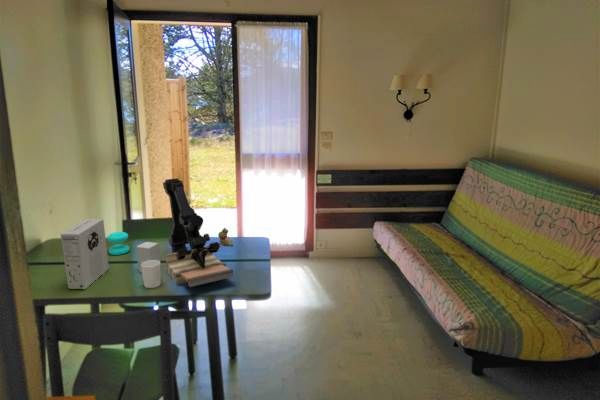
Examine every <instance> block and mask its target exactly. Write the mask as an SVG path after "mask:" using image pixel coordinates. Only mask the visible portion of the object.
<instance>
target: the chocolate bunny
mask: <svg viewBox="0 0 600 400" xmlns="http://www.w3.org/2000/svg"><path fill="white" fill-rule="evenodd" d="M228 233H229V230H228V229H227V228H226V227H224V228H223V229H222V230H221V231H219V233H218V234H217V235H218V238H219V245H220V246H224V247H232V246H234V243H233V241H232V239H231V238H230V237H229V236H228Z"/></svg>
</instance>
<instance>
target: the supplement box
mask: <svg viewBox="0 0 600 400" xmlns="http://www.w3.org/2000/svg"><path fill="white" fill-rule="evenodd" d="M135 249H136V257H137V267H138V272H139V273H142V269H141V263H143V262H145V261H148V260H158V261H160V262H161V256H160V245H159V242H151V241H144V242H143V243H141V244H138V245H137V246H136V248H135ZM161 268H162V266H161V263H160V269H161Z"/></svg>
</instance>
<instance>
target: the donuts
mask: <svg viewBox="0 0 600 400" xmlns="http://www.w3.org/2000/svg"><path fill="white" fill-rule="evenodd" d="M106 238H107V239H106V240H107V241H108V242H110V243H113V244H114V243H116V244H114V245H112V246H110V247H109V249H108V253H109V254H110V255H112V256H122V255H125V254H127V253H128V252H130V249H131V248H130V246H129V245H127V244H124V243H122V242H125V241H127V240H128V238H129V234H128V233H127V232H125V231H115V232H112V233H109V234H108V235H107V237H106ZM117 243H118V244H117ZM121 254H122V255H121Z"/></svg>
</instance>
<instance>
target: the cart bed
mask: <svg viewBox="0 0 600 400" xmlns="http://www.w3.org/2000/svg"><path fill="white" fill-rule="evenodd" d="M208 246H209V245H208ZM208 246H206V247H208ZM176 254H177V252H176V253H172V252H171V253H167V254H165V264H166V265H165V266H166V273H167V274H168V275H169V276H170V277H171V278H172V280H173V281H174V283H175V284H176V285H180V284H181V285H182V284H185V283H188V281H187V280H185V279H184V278H182V277H181V275H180V273H185V272H189V271H194V270H198V269H202V268H201V266H200V265H199V264H198V263H197V262H196V261H194V260H193V259H190V257H191V255H185V258H184V259H181V260H177V257H176ZM199 254H200V253H199ZM221 264H222V265H224V266H226V267H227V263H226V262H224V263H223V262H222V261H221V260H220V259H219V258H217V257H216V256H215V255H214V253H209V252H208V253H207V255H206V256H205V268H207V267H212V266H217V265H221Z"/></svg>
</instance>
